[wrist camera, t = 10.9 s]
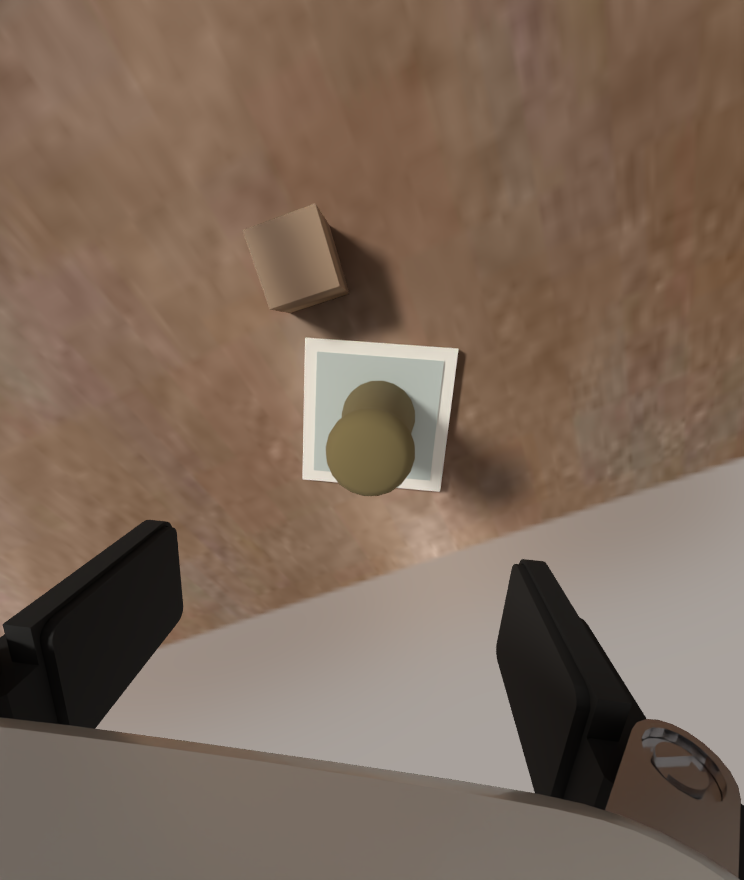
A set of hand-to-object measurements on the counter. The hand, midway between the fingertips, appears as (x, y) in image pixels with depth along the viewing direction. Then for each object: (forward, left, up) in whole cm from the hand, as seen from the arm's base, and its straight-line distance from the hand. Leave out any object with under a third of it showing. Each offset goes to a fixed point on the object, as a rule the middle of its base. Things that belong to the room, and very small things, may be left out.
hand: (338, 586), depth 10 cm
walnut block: (+6, -11, -23) cm, 26 cm away
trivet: (0, 0, -22) cm, 22 cm away
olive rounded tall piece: (0, 0, -22) cm, 22 cm away
